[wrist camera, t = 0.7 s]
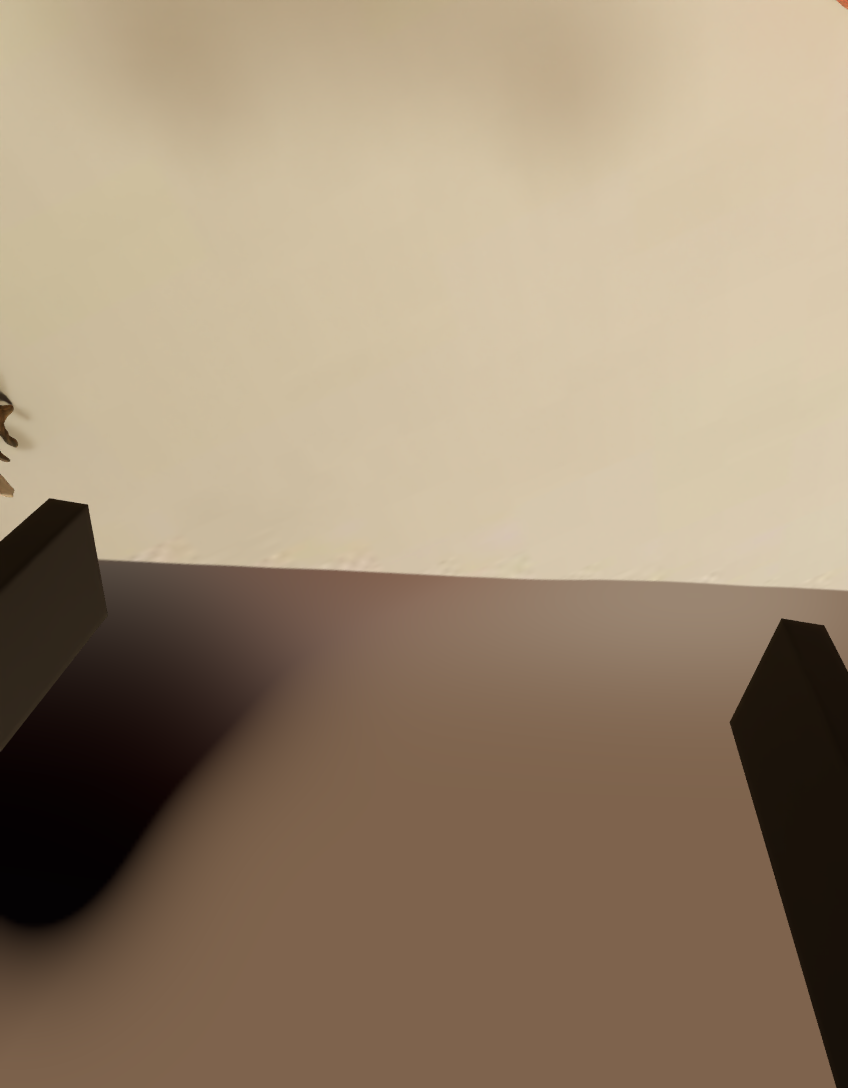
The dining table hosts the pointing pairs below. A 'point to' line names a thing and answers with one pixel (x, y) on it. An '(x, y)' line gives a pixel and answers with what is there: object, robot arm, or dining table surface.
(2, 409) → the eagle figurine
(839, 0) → the soda can
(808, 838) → the robot arm
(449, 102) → the dining table surface
